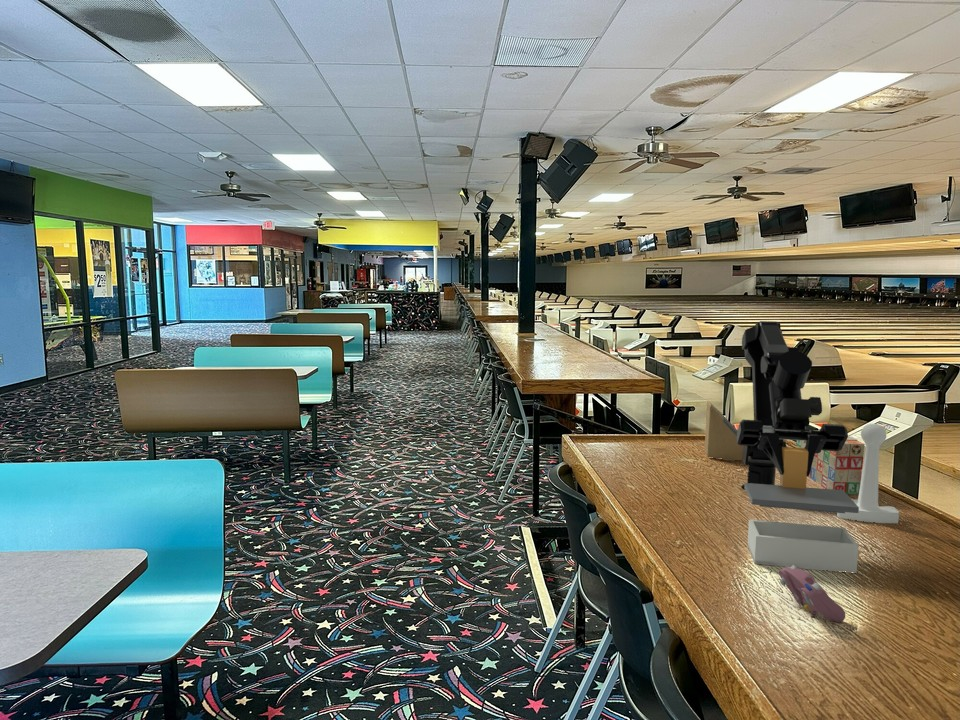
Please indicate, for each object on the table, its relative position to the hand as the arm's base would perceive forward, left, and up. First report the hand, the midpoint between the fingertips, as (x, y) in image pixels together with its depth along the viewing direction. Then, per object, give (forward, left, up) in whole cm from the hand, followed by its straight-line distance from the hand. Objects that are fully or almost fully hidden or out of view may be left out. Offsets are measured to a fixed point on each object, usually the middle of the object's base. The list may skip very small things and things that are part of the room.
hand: (795, 474), depth 121 cm
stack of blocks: (-44, -15, -14) cm, 48 cm away
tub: (+6, +5, -13) cm, 15 cm away
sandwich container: (-45, -40, -14) cm, 62 cm away
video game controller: (+21, +14, -13) cm, 29 cm away
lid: (+3, +2, -4) cm, 6 cm away
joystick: (-26, +2, -13) cm, 30 cm away
